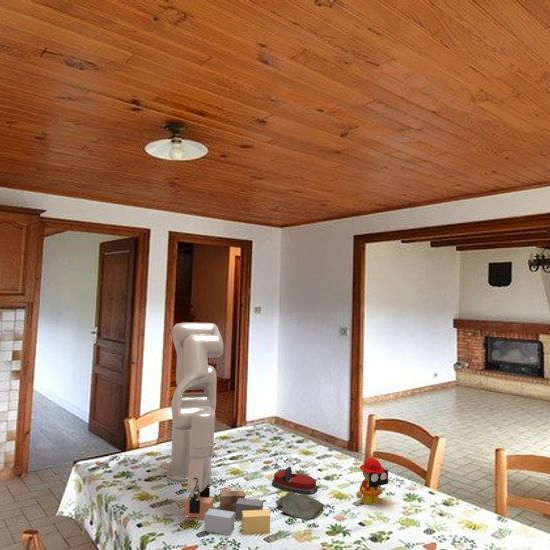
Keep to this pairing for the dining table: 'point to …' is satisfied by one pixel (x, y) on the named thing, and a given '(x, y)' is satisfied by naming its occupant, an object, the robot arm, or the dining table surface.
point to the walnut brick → (230, 499)
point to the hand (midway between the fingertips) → (199, 506)
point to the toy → (372, 481)
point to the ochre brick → (255, 521)
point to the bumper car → (294, 481)
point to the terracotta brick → (204, 507)
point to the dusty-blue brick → (219, 521)
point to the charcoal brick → (247, 506)
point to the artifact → (300, 505)
